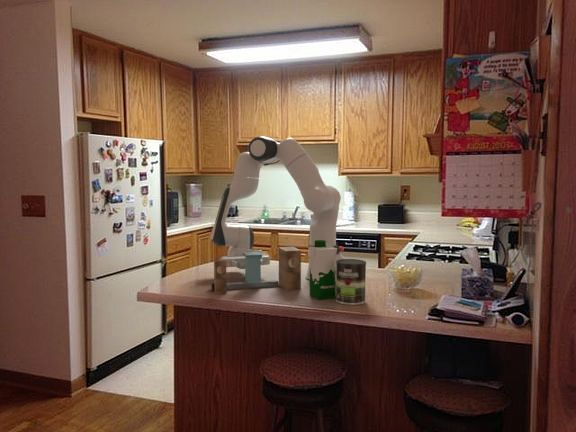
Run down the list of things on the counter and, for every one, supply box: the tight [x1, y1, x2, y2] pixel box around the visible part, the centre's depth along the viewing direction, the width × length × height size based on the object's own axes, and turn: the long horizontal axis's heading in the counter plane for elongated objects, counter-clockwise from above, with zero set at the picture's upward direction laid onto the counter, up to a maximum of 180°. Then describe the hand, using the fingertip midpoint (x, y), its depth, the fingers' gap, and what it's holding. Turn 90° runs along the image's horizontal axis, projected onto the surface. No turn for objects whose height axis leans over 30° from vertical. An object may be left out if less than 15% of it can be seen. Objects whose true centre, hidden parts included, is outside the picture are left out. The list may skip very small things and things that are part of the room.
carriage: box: [244, 252, 262, 283], centre depth 191 cm, size 6×6×11 cm
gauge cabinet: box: [278, 246, 302, 291], centre depth 192 cm, size 6×11×15 cm, turn 17°
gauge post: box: [213, 259, 228, 295], centre depth 182 cm, size 4×4×12 cm
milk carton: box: [308, 240, 337, 300], centre depth 177 cm, size 9×9×20 cm
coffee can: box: [335, 258, 367, 306], centre depth 171 cm, size 10×10×14 cm
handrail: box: [210, 279, 279, 292], centre depth 191 cm, size 26×4×3 cm, turn 107°
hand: (249, 264), depth 198 cm, fingers open, 8 cm apart
